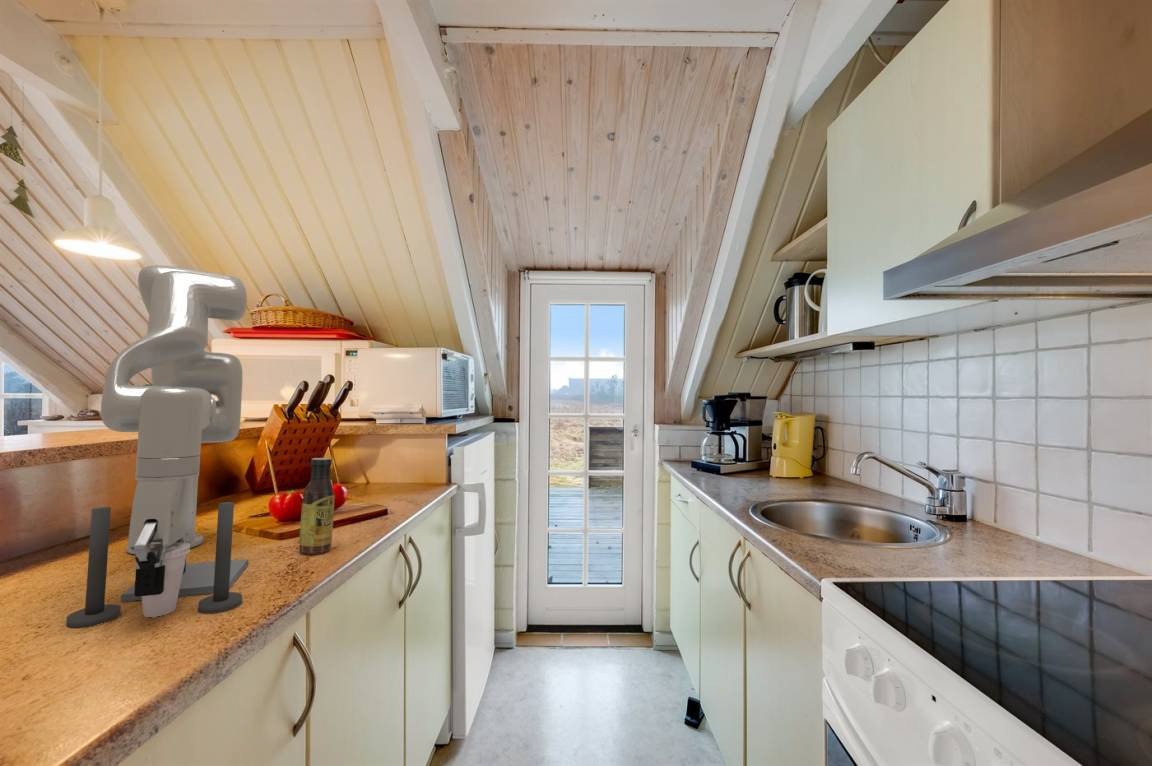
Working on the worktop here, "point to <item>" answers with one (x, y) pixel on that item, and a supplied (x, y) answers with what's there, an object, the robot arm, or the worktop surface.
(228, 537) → the post
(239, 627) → the worktop surface
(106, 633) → the worktop surface
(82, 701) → the worktop surface
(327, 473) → the sauce bottle
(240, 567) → the slate board
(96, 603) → the post
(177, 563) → the smoothie
